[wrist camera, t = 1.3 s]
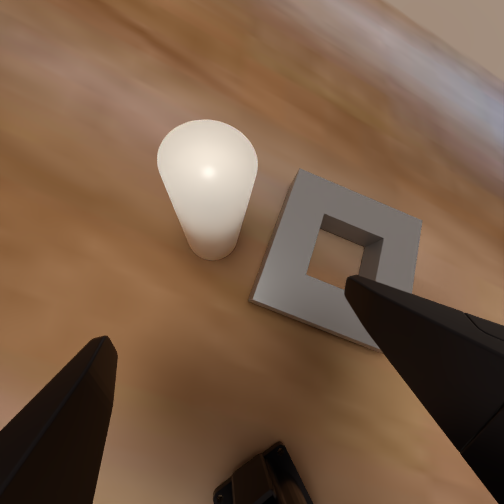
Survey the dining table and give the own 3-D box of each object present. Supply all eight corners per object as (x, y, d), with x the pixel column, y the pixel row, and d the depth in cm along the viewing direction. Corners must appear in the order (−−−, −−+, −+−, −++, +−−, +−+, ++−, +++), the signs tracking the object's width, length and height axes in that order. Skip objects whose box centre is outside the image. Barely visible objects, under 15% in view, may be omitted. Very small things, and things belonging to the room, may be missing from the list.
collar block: (378, 352, 22) (402, 358, 20) (247, 301, 22) (252, 299, 19) (400, 230, 26) (422, 220, 24) (290, 184, 26) (299, 168, 23)
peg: (245, 247, 23) (274, 183, 12) (200, 269, 22) (183, 221, 10) (223, 206, 24) (230, 109, 12) (179, 225, 23) (140, 136, 11)
